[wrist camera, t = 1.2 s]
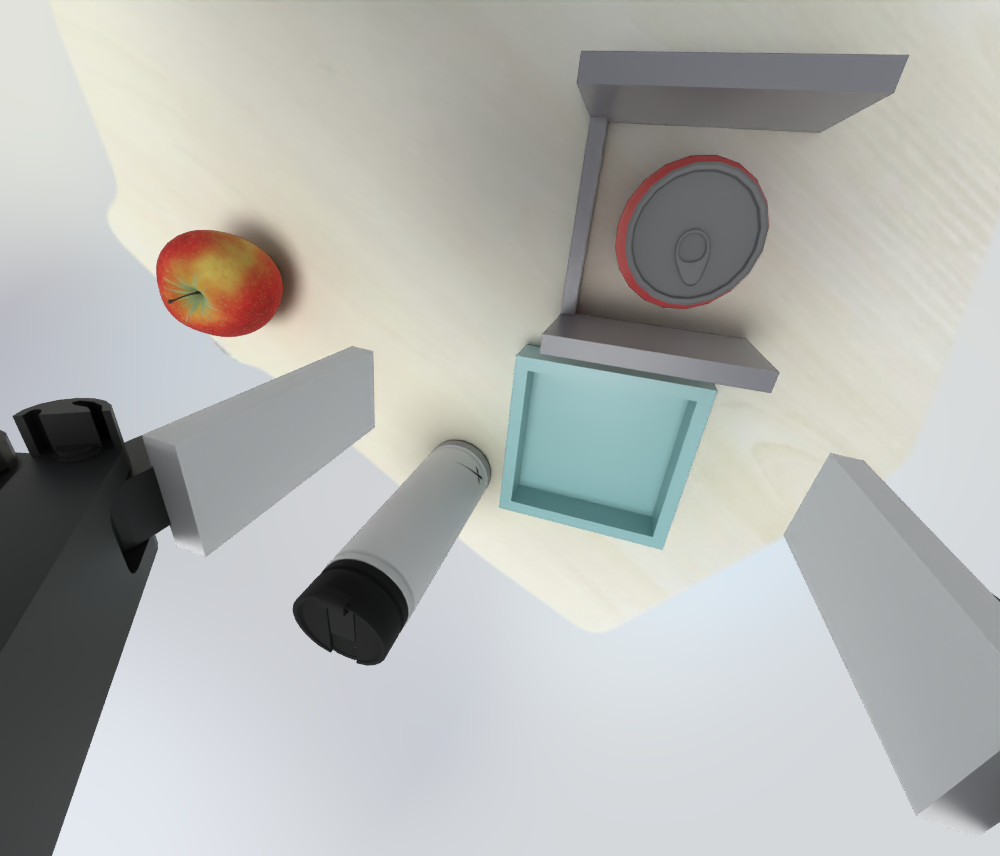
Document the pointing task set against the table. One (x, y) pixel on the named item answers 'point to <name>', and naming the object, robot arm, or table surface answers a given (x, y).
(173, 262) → the apple
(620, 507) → the tray
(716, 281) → the beer can
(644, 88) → the bay
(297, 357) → the table surface
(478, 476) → the travel mug
